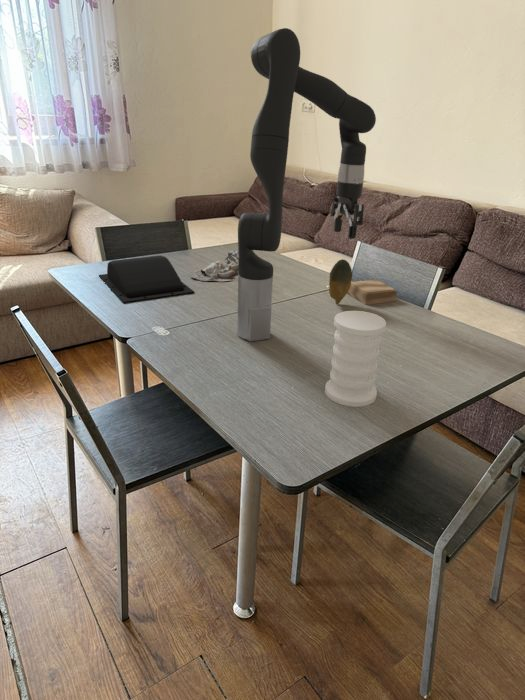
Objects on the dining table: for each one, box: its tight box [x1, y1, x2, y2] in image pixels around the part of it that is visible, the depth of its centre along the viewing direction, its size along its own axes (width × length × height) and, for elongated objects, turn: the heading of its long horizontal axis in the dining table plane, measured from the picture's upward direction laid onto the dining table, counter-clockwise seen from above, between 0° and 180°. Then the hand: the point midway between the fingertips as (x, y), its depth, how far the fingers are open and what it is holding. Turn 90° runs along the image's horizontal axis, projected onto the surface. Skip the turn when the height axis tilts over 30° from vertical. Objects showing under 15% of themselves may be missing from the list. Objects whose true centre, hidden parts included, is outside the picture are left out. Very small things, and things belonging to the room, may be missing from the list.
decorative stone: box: [328, 259, 353, 305], centre depth 164 cm, size 10×6×15 cm, turn 131°
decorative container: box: [324, 310, 387, 408], centre depth 112 cm, size 12×12×18 cm
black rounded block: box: [98, 255, 195, 305], centre depth 176 cm, size 24×8×30 cm
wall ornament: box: [188, 250, 239, 282], centre depth 192 cm, size 19×10×30 cm
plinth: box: [347, 279, 398, 305], centre depth 175 cm, size 12×12×4 cm
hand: (344, 234), depth 158 cm, fingers open, 8 cm apart
